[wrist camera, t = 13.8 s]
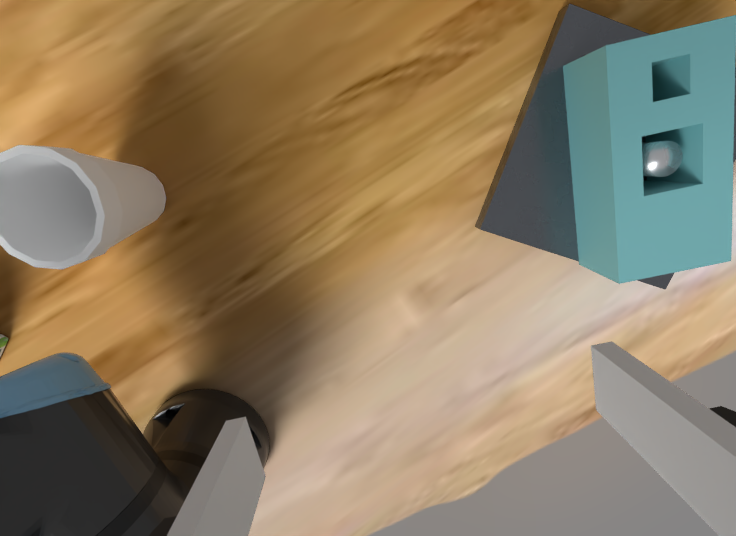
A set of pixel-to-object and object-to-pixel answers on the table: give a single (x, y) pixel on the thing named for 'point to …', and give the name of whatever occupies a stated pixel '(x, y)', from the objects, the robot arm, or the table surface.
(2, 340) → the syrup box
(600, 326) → the table surface
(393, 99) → the table surface
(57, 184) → the foam cup
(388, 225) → the table surface
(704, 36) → the teal block with holes
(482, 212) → the base
